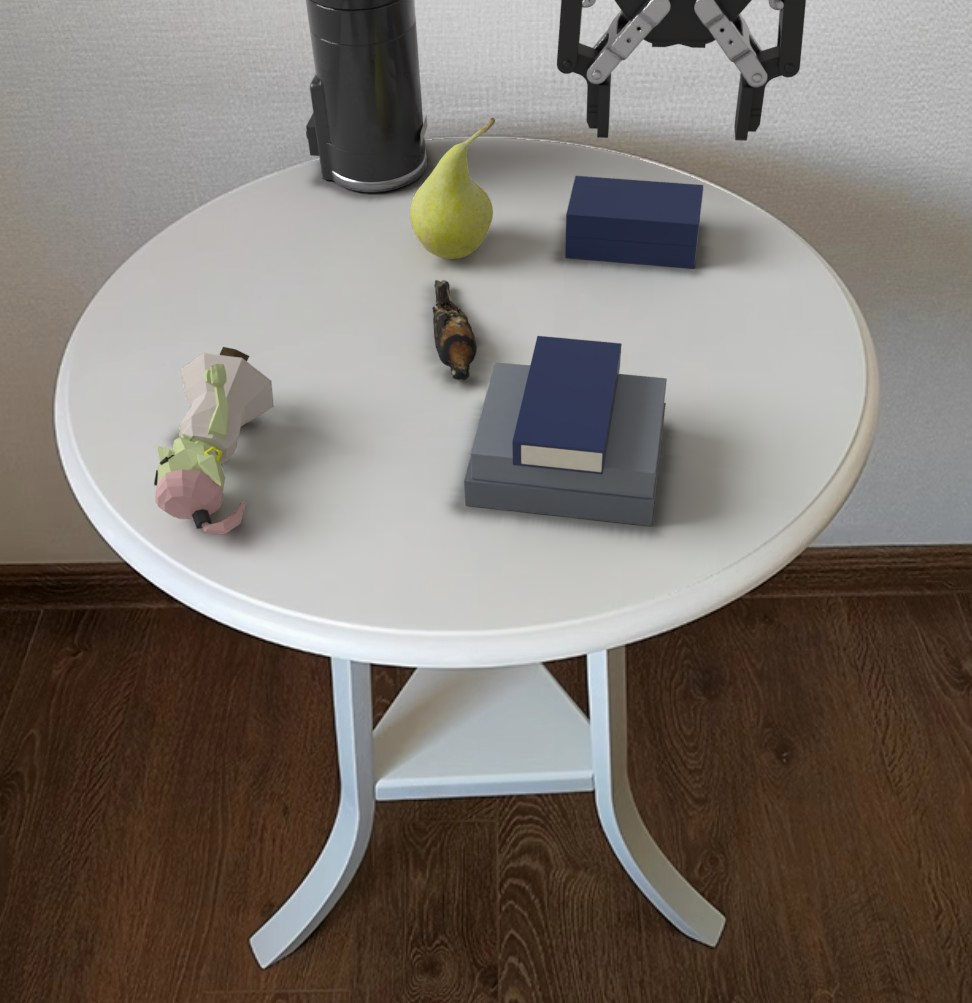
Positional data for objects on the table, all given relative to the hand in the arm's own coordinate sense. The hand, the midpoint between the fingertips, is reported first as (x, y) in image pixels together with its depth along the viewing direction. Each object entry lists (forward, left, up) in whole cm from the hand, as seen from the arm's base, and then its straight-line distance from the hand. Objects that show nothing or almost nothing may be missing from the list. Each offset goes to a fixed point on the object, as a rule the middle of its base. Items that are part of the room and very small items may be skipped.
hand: (671, 133), depth 78 cm
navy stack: (-3, +20, -22) cm, 30 cm away
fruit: (-18, +17, -23) cm, 34 cm away
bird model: (-16, +5, -23) cm, 28 cm away
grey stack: (-5, -8, -22) cm, 24 cm away
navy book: (-5, -8, -17) cm, 20 cm away
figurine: (-30, -5, -19) cm, 36 cm away
